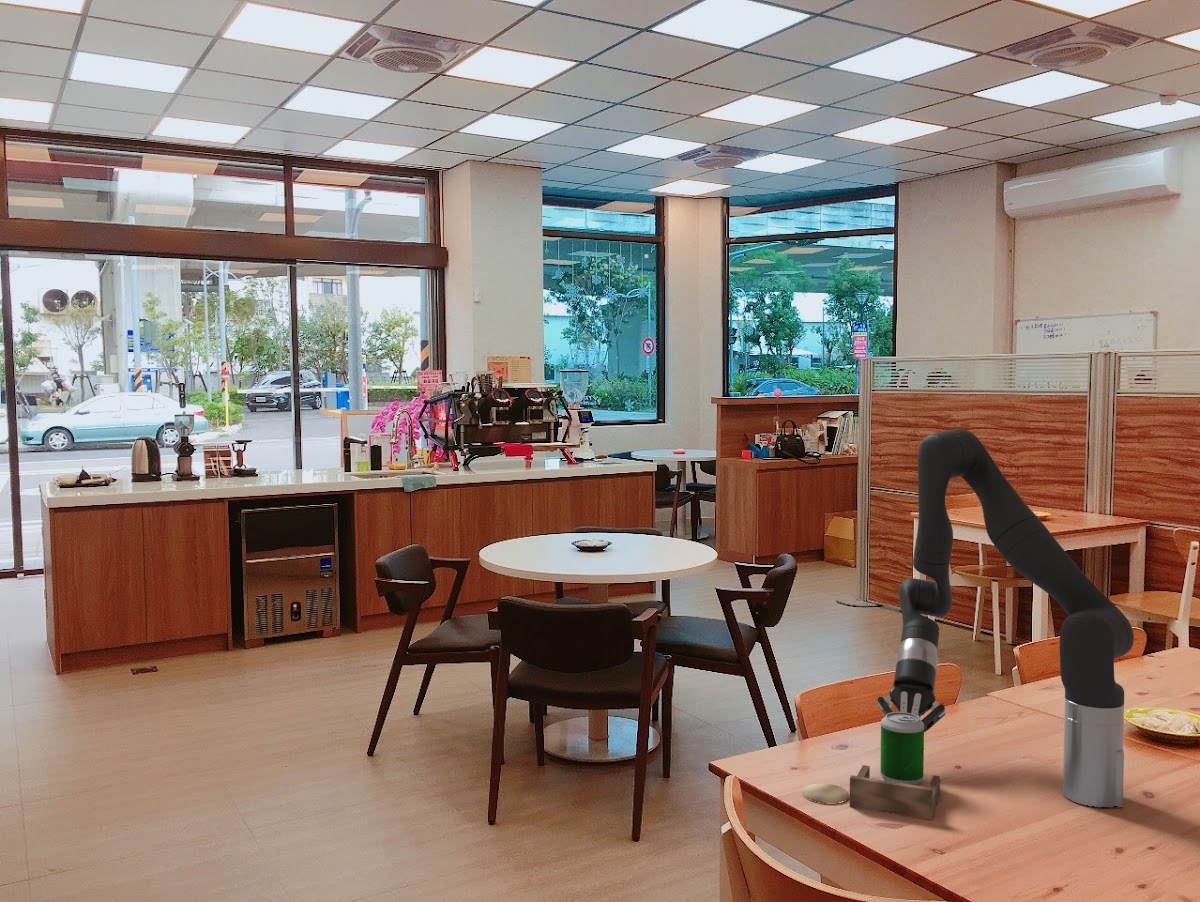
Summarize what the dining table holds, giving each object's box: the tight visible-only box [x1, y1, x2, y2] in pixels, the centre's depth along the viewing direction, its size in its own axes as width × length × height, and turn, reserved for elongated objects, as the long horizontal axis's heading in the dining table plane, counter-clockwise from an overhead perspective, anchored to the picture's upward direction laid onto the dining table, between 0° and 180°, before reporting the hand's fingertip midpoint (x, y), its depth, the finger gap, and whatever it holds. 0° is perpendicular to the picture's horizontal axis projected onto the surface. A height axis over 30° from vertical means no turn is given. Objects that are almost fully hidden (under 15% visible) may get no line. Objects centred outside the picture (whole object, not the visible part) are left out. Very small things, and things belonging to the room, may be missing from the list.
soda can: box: [879, 711, 925, 786], centre depth 180 cm, size 8×8×12 cm
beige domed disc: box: [801, 783, 850, 804], centre depth 174 cm, size 8×8×1 cm
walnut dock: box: [849, 764, 941, 821], centre depth 172 cm, size 13×12×5 cm
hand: (905, 748), depth 184 cm, fingers closed
